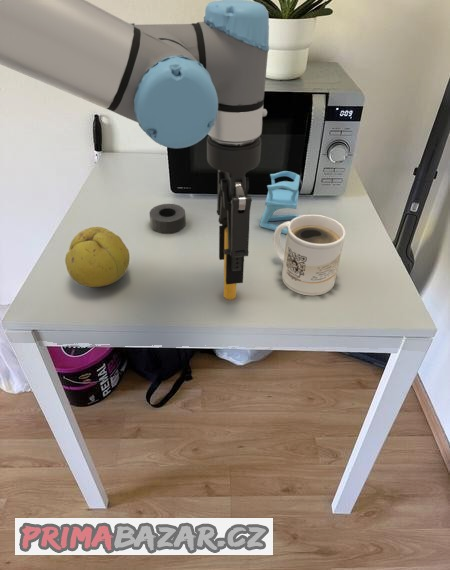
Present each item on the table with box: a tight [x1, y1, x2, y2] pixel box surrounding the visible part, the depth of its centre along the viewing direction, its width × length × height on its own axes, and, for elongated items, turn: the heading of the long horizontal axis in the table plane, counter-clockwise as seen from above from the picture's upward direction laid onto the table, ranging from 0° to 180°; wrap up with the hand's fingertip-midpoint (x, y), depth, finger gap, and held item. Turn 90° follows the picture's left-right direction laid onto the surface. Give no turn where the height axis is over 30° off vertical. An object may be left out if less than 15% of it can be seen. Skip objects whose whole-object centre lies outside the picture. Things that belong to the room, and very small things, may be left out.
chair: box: [259, 170, 301, 235], centre depth 93 cm, size 8×8×12 cm
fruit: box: [64, 226, 130, 288], centre depth 78 cm, size 11×12×10 cm
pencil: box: [223, 228, 237, 301], centre depth 74 cm, size 2×2×15 cm
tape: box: [149, 203, 187, 235], centre depth 96 cm, size 8×8×3 cm
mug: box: [272, 213, 346, 297], centre depth 80 cm, size 10×12×11 cm
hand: (230, 269), depth 75 cm, fingers open, 6 cm apart
